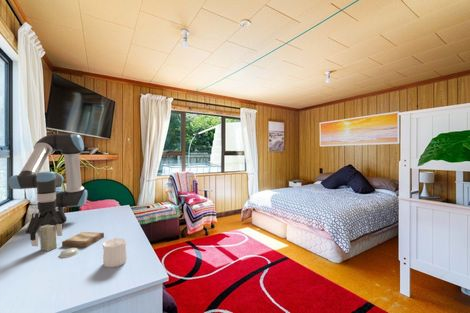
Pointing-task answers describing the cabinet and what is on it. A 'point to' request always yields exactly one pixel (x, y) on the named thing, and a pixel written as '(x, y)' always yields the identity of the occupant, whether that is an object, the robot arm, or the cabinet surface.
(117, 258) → the cup
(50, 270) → the cabinet surface
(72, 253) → the trinket dish
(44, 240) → the skincare box
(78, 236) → the tan square flat tray
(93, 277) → the cabinet surface
